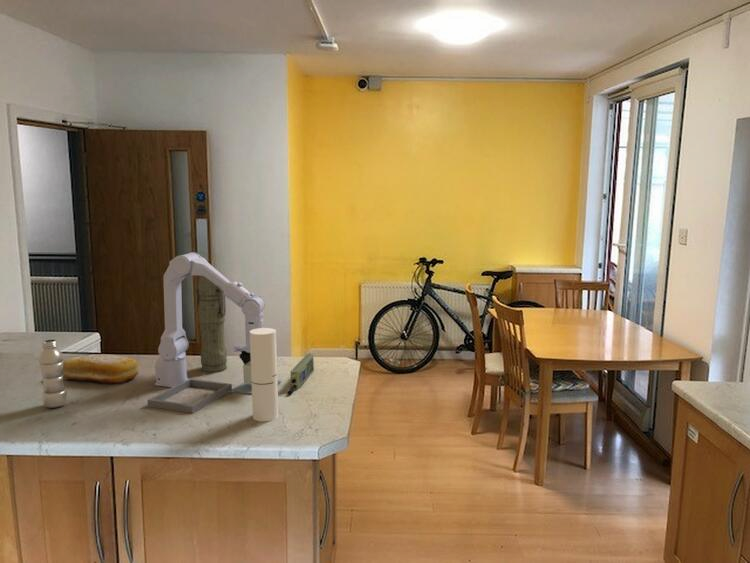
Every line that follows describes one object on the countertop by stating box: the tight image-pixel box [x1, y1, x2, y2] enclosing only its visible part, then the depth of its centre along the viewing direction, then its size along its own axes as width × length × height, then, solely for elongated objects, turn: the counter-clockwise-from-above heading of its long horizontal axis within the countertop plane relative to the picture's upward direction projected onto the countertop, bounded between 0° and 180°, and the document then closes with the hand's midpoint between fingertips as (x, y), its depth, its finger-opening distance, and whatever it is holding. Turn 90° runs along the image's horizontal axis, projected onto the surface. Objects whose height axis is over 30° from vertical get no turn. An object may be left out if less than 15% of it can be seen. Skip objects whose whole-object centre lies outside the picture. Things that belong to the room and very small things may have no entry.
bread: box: [63, 353, 139, 385], centre depth 193 cm, size 13×26×8 cm, turn 78°
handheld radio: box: [287, 353, 315, 396], centre depth 188 cm, size 7×3×25 cm
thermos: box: [195, 276, 228, 374], centre depth 199 cm, size 9×12×35 cm
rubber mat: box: [230, 379, 282, 396], centre depth 184 cm, size 11×13×1 cm
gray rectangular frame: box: [147, 377, 233, 414], centre depth 175 cm, size 16×20×2 cm
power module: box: [242, 361, 252, 384], centre depth 183 cm, size 4×8×7 cm, turn 161°
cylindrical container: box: [250, 327, 279, 423], centre depth 159 cm, size 7×7×25 cm
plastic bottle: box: [38, 339, 68, 409], centre depth 167 cm, size 6×7×20 cm
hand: (256, 374), depth 184 cm, fingers closed on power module, 4 cm apart
